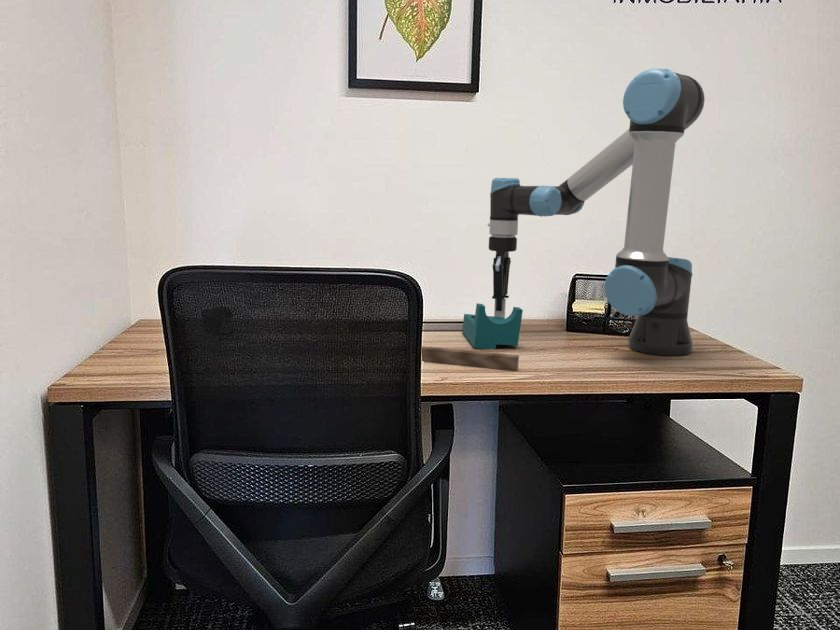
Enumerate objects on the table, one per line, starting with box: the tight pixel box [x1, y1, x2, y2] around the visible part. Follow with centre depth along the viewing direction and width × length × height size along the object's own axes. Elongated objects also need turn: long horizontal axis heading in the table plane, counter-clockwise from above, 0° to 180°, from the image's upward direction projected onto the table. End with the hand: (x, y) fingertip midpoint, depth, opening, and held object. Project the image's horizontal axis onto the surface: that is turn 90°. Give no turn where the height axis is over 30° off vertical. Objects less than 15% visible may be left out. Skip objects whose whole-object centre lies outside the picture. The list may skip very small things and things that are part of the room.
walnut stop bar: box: [421, 345, 520, 372], centre depth 154 cm, size 22×2×3 cm, turn 72°
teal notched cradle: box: [461, 302, 524, 350], centre depth 177 cm, size 18×11×10 cm, turn 6°
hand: (499, 321), depth 191 cm, fingers closed
